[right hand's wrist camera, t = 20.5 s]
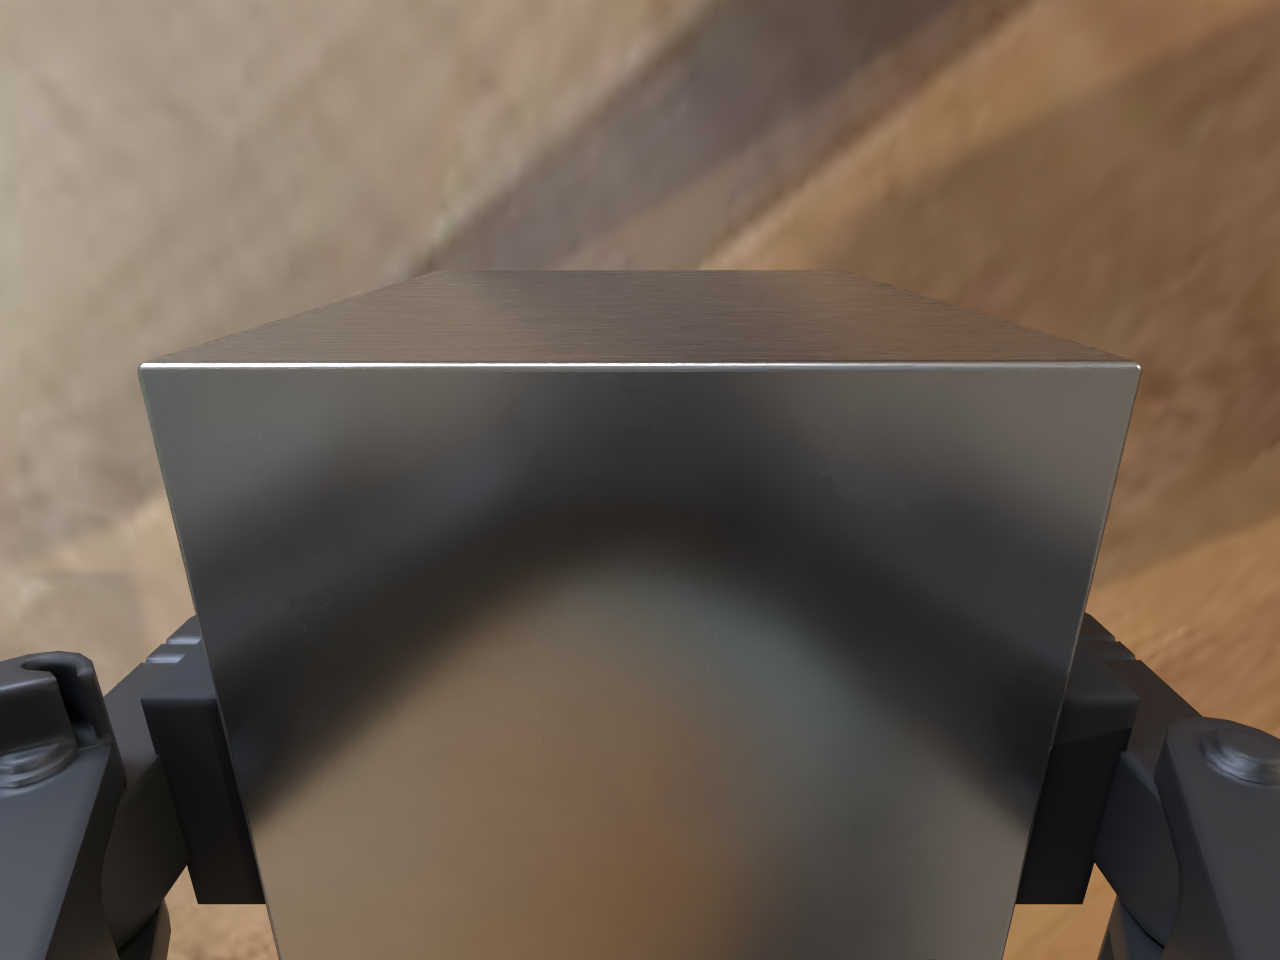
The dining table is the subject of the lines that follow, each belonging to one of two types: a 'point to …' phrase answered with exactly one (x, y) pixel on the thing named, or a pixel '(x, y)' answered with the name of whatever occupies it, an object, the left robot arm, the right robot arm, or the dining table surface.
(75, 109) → the dining table surface
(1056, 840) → the right robot arm
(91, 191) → the dining table surface
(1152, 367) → the dining table surface
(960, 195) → the dining table surface
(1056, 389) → the block
